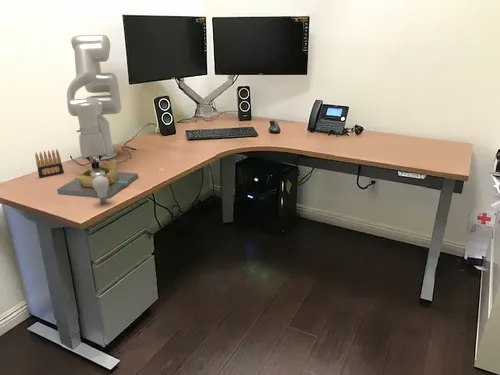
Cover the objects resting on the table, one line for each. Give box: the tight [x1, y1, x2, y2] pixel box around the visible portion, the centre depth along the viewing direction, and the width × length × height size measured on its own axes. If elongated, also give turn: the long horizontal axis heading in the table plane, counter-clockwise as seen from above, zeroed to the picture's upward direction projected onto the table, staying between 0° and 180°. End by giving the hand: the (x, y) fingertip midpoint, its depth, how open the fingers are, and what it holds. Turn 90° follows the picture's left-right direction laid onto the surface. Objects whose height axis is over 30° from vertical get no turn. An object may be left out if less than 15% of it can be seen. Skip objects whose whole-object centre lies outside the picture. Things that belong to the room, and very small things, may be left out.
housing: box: [56, 170, 139, 199], centre depth 182 cm, size 24×25×6 cm
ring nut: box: [77, 158, 119, 187], centre depth 184 cm, size 21×15×5 cm
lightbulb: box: [92, 176, 109, 203], centre depth 164 cm, size 6×6×11 cm
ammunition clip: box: [34, 148, 65, 179], centre depth 194 cm, size 11×2×12 cm, turn 123°
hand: (96, 169), depth 191 cm, fingers closed
